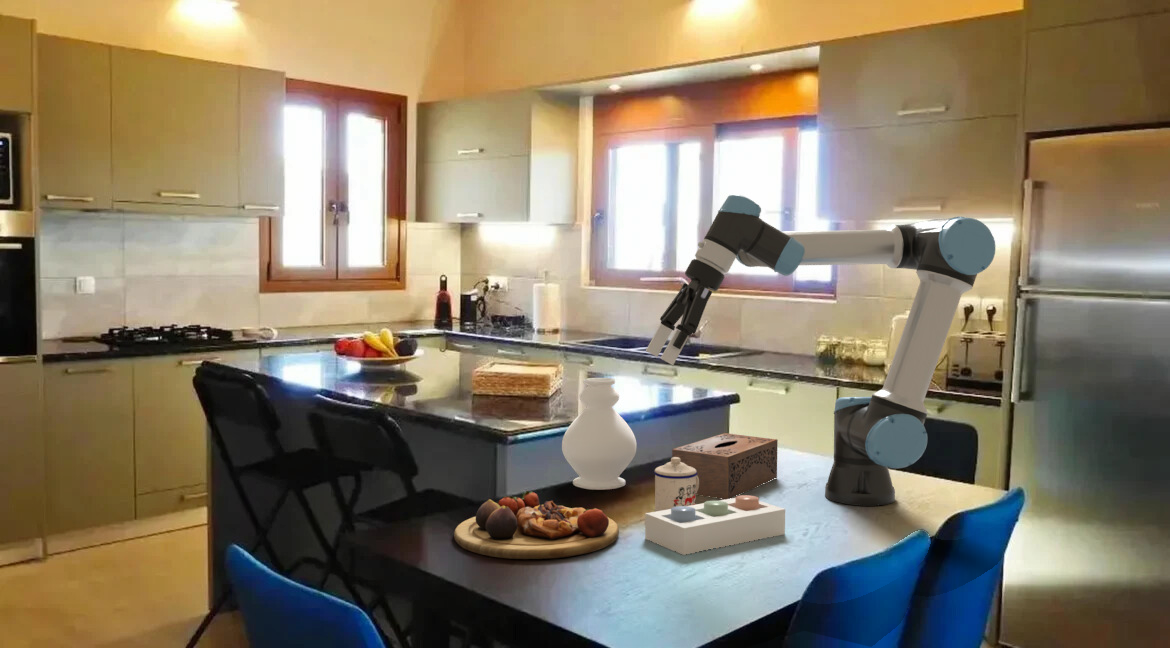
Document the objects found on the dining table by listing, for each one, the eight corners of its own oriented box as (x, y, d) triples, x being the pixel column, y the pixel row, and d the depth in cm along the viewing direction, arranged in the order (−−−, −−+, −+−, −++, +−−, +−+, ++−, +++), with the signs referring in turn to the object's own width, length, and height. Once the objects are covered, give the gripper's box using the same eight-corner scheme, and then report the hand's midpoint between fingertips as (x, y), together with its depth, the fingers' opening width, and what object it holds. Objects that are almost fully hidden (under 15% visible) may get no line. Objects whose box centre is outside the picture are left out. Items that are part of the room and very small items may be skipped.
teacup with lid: (677, 520, 200) (678, 464, 199) (645, 511, 206) (645, 457, 205) (714, 509, 208) (714, 456, 207) (681, 501, 214) (681, 449, 214)
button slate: (685, 525, 186) (685, 505, 186) (700, 531, 183) (700, 510, 182) (666, 529, 184) (666, 508, 184) (680, 534, 180) (681, 513, 180)
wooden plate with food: (653, 537, 188) (653, 495, 188) (531, 573, 166) (531, 526, 165) (541, 510, 211) (541, 473, 210) (421, 539, 188) (420, 497, 188)
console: (743, 520, 199) (743, 496, 199) (784, 534, 189) (785, 509, 189) (645, 538, 186) (645, 513, 186) (683, 555, 176) (684, 528, 176)
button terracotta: (747, 513, 195) (748, 494, 195) (763, 518, 191) (763, 499, 191) (730, 517, 193) (730, 497, 192) (745, 522, 189) (746, 502, 188)
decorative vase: (649, 480, 234) (650, 378, 233) (611, 496, 219) (612, 386, 218) (587, 472, 244) (587, 373, 242) (547, 486, 229) (547, 381, 227)
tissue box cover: (724, 472, 245) (724, 433, 245) (776, 479, 237) (777, 439, 236) (671, 491, 225) (672, 449, 224) (727, 501, 216) (727, 456, 215)
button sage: (717, 519, 191) (717, 499, 190) (732, 524, 187) (732, 504, 187) (698, 522, 188) (699, 502, 188) (714, 528, 184) (714, 507, 184)
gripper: (678, 256, 208) (630, 342, 208) (711, 258, 183) (657, 356, 183) (707, 273, 209) (660, 359, 209) (744, 277, 185) (690, 374, 184)
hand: (658, 358), depth 196 cm, fingers open, 13 cm apart
